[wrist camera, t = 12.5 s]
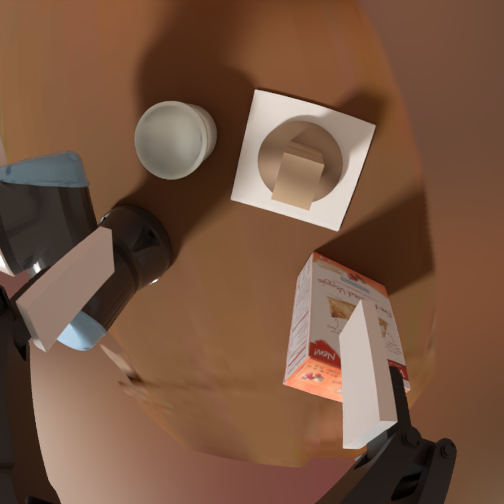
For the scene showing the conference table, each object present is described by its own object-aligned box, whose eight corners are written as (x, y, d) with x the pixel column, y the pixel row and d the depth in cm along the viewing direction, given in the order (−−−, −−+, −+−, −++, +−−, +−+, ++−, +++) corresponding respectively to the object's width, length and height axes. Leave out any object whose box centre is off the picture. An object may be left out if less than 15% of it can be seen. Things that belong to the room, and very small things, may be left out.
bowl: (215, 174, 39) (199, 187, 33) (155, 160, 39) (131, 171, 34) (229, 106, 34) (213, 107, 28) (163, 96, 34) (139, 97, 29)
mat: (337, 230, 39) (338, 231, 39) (231, 198, 40) (230, 199, 40) (374, 125, 31) (375, 125, 31) (256, 89, 32) (255, 89, 31)
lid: (326, 210, 38) (331, 245, 29) (250, 187, 38) (231, 215, 30) (352, 136, 32) (368, 148, 23) (270, 111, 33) (255, 113, 24)
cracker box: (386, 283, 42) (413, 390, 24) (366, 308, 45) (379, 414, 28) (313, 247, 42) (309, 358, 24) (295, 276, 45) (280, 387, 27)
